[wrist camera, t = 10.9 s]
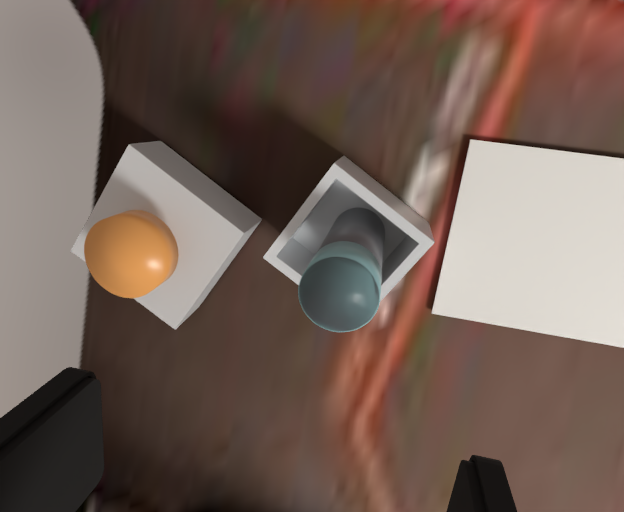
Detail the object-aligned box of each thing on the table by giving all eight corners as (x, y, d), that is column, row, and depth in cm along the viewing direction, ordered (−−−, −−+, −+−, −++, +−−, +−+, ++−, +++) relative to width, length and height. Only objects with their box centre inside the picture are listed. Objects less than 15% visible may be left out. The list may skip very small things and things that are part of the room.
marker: (397, 228, 30) (397, 288, 19) (364, 269, 31) (347, 346, 21) (352, 195, 30) (328, 239, 19) (321, 238, 31) (283, 300, 20)
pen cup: (428, 222, 30) (434, 242, 25) (361, 297, 32) (355, 328, 27) (343, 155, 29) (334, 162, 25) (282, 236, 32) (262, 257, 27)
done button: (192, 243, 27) (177, 253, 25) (154, 300, 29) (137, 313, 27) (126, 193, 27) (106, 199, 25) (92, 253, 29) (70, 263, 27)
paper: (754, 175, 26) (757, 175, 25) (676, 355, 29) (677, 357, 29) (470, 139, 28) (470, 139, 27) (431, 312, 31) (431, 313, 31)
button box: (262, 219, 32) (244, 233, 28) (199, 306, 35) (175, 329, 31) (160, 140, 31) (128, 144, 27) (106, 236, 34) (70, 250, 31)
